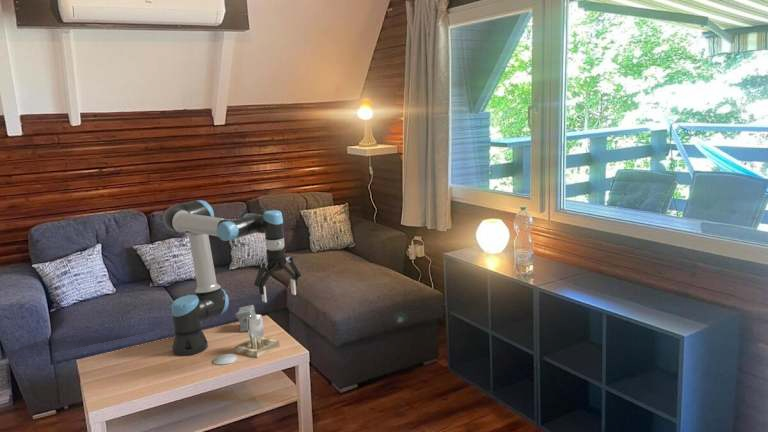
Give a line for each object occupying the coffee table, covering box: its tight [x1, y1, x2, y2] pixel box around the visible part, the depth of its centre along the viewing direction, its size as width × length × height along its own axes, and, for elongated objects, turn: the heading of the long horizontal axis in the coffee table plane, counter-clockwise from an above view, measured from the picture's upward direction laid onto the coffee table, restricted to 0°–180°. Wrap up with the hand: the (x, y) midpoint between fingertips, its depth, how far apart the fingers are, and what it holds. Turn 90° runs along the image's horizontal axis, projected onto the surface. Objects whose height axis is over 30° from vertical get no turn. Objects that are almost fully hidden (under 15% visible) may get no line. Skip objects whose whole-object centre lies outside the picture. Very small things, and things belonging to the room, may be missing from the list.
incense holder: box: [235, 304, 257, 333], centre depth 295 cm, size 10×8×10 cm
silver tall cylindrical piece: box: [247, 313, 265, 350], centre depth 268 cm, size 7×7×15 cm
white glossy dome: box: [212, 353, 238, 366], centre depth 260 cm, size 10×10×1 cm
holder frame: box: [234, 336, 281, 358], centre depth 270 cm, size 14×14×2 cm
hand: (279, 297), depth 255 cm, fingers open, 13 cm apart
